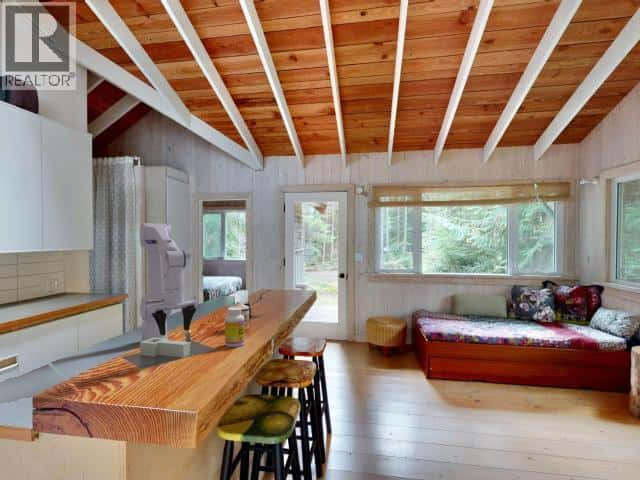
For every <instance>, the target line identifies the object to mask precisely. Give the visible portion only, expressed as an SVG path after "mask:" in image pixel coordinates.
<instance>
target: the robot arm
mask: <svg viewBox="0 0 640 480" xmlns="http://www.w3.org/2000/svg"><path fill="white" fill-rule="evenodd" d="M172 232H173V231H172V226H171V224H170V222H169V223H168V222H166V223H154V222H153V223H150V222H149V223H148V222H147V223H146V222H142V223H141V224H140V225H139V243H140V246H141V247H142V248H145V251H146V259H147V260H146V262H147V263H146V266H147V282H148V283H147V285H148V292H147V293H146V294H145V295H143V296H142V297H141V299H140V305H139V306H140V307H139V312H140V318H141V319H143V322H142V325H141V339H142V340H141V341H139V343H140V342H143V341H146V340H149V339H152V338H165V339H168V319H169V317H170V316H171V314H172V310H173V311H174V310H178V309H181V312H182V318H183V319H182V320H183V322H182V323H183V330H184V331H188V330H190V327H191V323H192V319H193V317H194V315H195V313H196V311H197V307H198V300H196V299H192V300H191V299H190V300H185V272H184V271H185V268H186V266H187V254H186V251H185V250H184V249H180V248H179V247H178V245H177V244H176V242H175V240H173V239H172ZM162 275H163V278H164V279H163V278H162ZM163 281H164V282H163ZM163 287H164V289H163ZM163 290H164V291H163Z"/></svg>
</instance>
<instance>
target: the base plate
mask: <svg viewBox="0 0 640 480" xmlns="http://www.w3.org/2000/svg"><path fill="white" fill-rule="evenodd" d="M216 350H218V349H217V348H215V347H212V346H210V345H207V344H203V343H201V342H197V341H194V340H191V346H190V355H188V356H186V357H184V358H183V357H173V356H164V355H157V356H147V355H140V352H136V353H132V354H128V355H123V356H121V358H122V359H125V360H126V361H127V362H130V363H132V364H133V365H135V366H137V367H139V368H140V369H147V368H152V367H154V366H155V367H156V366H158V365H163V364H168V363H171V362H175V361H178V360H182V359H185V358H190V357H194V356H196V355H197V356H198V355H202V354H206V353H208V352H212V351H216Z"/></svg>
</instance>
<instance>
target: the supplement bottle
mask: <svg viewBox="0 0 640 480" xmlns="http://www.w3.org/2000/svg"><path fill="white" fill-rule="evenodd" d="M228 308H229V307H228ZM228 308H227V315H226V316H225V319H224V334H225V335H224V337H225V338H224V339H225V340H224V341H225V343H224V344H225V346H226V347H229V348H237V347H242V346H243V345H245V330H244V317H243V316H242V315H241V308H229V309H228Z"/></svg>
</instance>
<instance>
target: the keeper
mask: <svg viewBox="0 0 640 480" xmlns="http://www.w3.org/2000/svg"><path fill="white" fill-rule="evenodd" d="M191 332H192V331H191V329H189V330H188V331H186V330H184V331H183V332H181V333H180V338H185V342H190V346H191V341H192V340H191V338H192V337H191V334H192V333H191Z"/></svg>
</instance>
